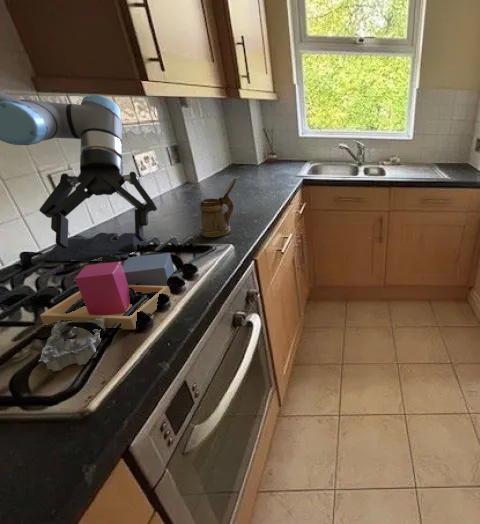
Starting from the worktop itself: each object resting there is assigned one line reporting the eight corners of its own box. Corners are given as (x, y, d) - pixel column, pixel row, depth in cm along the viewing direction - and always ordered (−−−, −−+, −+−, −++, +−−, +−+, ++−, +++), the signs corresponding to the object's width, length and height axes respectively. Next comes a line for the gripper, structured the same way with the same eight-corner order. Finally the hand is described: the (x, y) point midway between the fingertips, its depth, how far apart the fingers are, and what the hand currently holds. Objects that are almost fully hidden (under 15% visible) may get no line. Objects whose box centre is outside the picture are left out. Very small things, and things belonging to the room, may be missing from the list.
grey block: (125, 292, 76) (118, 273, 74) (134, 275, 84) (128, 257, 82) (169, 286, 79) (164, 267, 77) (174, 270, 87) (169, 252, 85)
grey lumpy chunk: (65, 336, 62) (57, 318, 60) (113, 328, 64) (106, 310, 63) (38, 376, 53) (28, 355, 51) (95, 364, 55) (87, 345, 54)
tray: (44, 326, 64) (39, 315, 63) (95, 293, 76) (91, 283, 74) (134, 329, 64) (130, 318, 63) (171, 295, 75) (168, 286, 74)
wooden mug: (244, 234, 112) (237, 180, 104) (200, 238, 107) (189, 182, 99) (244, 226, 119) (236, 175, 111) (202, 229, 115) (192, 177, 107)
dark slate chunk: (77, 241, 102) (72, 227, 100) (153, 241, 104) (149, 226, 102) (37, 263, 88) (30, 246, 86) (126, 261, 90) (120, 245, 88)
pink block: (90, 318, 66) (74, 278, 62) (99, 302, 71) (85, 265, 67) (125, 312, 68) (112, 273, 64) (132, 297, 73) (120, 261, 69)
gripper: (168, 166, 83) (173, 242, 77) (43, 169, 75) (37, 255, 69) (159, 146, 77) (164, 228, 70) (20, 147, 68) (12, 240, 62)
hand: (101, 242), depth 69 cm, fingers open, 13 cm apart
